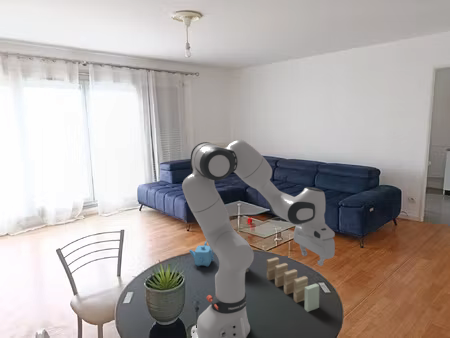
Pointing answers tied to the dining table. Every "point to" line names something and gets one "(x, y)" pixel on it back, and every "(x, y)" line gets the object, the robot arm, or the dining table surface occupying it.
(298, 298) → the domino
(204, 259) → the teapot
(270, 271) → the domino
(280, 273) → the domino
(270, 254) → the dining table surface
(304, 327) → the dining table surface
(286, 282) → the domino
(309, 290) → the end domino
